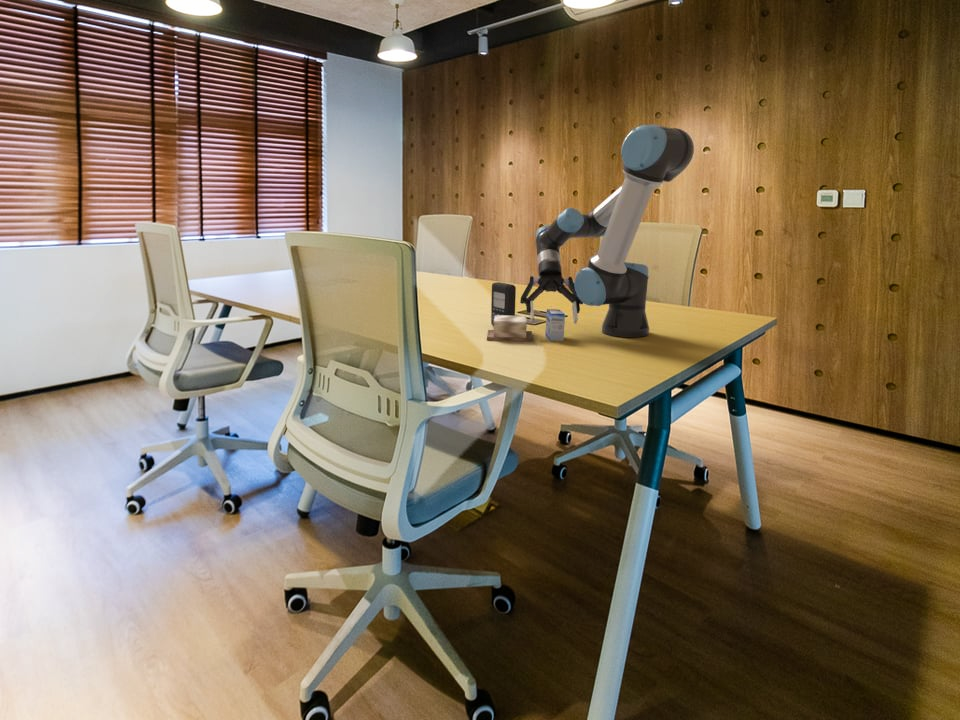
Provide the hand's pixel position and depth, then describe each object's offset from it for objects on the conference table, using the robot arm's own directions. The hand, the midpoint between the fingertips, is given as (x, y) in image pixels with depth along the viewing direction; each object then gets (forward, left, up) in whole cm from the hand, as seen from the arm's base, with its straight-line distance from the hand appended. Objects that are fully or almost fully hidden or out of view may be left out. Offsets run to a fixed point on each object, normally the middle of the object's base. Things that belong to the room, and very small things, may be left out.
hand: (554, 320), depth 188 cm
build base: (+14, -1, -6) cm, 15 cm away
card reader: (+16, -15, -6) cm, 23 cm away
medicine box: (0, -1, -6) cm, 6 cm away
